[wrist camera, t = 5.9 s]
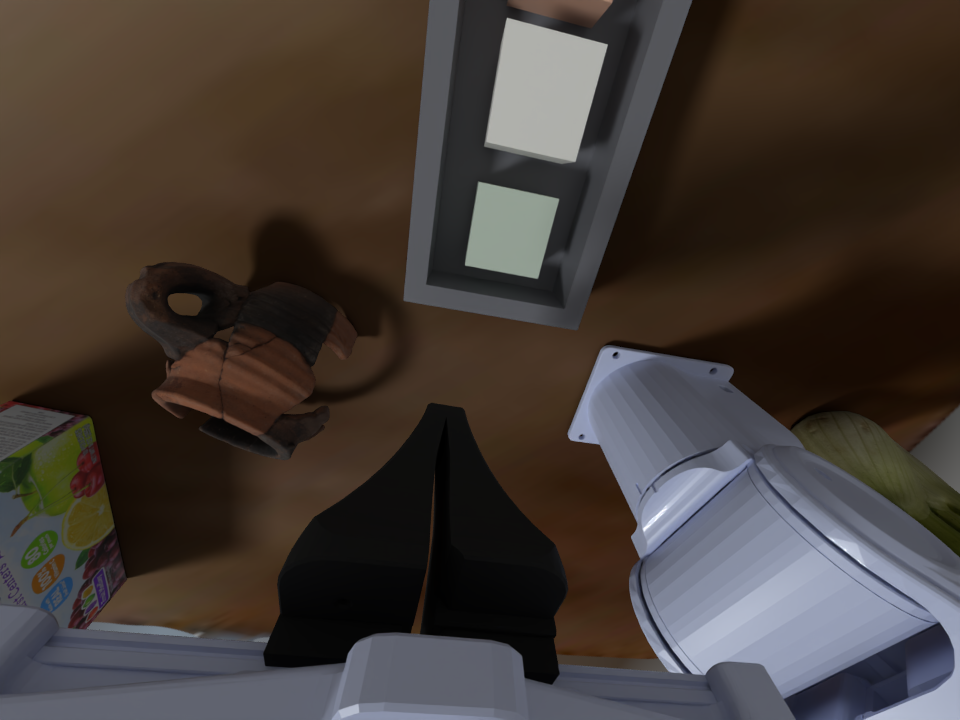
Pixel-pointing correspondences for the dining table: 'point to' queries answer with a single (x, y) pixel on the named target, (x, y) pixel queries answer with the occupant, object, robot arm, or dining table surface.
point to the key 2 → (566, 9)
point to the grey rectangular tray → (578, 185)
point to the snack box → (55, 516)
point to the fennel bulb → (884, 469)
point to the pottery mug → (240, 354)
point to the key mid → (542, 92)
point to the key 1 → (509, 230)
